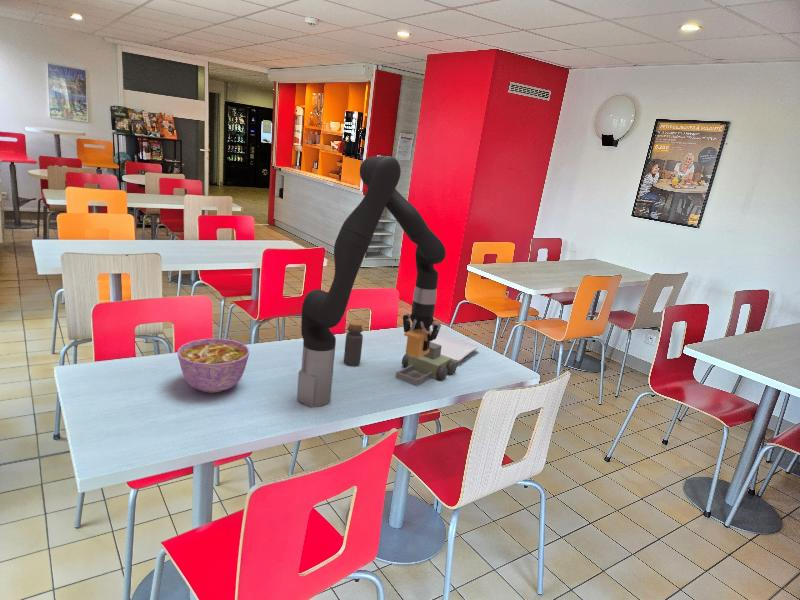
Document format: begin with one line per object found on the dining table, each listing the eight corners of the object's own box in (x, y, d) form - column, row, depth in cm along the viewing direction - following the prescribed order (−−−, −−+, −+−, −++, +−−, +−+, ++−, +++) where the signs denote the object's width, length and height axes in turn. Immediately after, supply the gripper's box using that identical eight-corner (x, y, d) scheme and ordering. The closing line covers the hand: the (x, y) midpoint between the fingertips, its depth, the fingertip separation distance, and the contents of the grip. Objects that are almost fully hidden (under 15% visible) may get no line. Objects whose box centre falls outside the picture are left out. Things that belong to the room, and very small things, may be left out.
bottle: (352, 367, 184) (356, 326, 180) (340, 362, 188) (343, 322, 183) (363, 363, 189) (367, 323, 185) (351, 358, 192) (355, 319, 188)
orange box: (414, 360, 174) (417, 337, 172) (401, 355, 177) (404, 333, 174) (428, 352, 182) (431, 330, 180) (416, 348, 184) (419, 326, 182)
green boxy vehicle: (426, 389, 174) (430, 364, 172) (386, 374, 182) (389, 349, 180) (455, 372, 191) (459, 349, 189) (417, 358, 199) (420, 336, 197)
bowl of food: (239, 369, 172) (240, 336, 169) (255, 397, 155) (257, 360, 152) (172, 376, 162) (172, 340, 159) (182, 406, 145) (182, 367, 142)
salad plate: (457, 368, 196) (459, 359, 195) (407, 352, 206) (408, 343, 205) (478, 353, 214) (480, 345, 213) (432, 338, 224) (433, 331, 223)
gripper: (400, 296, 176) (394, 344, 180) (437, 307, 168) (430, 357, 173) (412, 293, 182) (406, 339, 186) (448, 303, 174) (441, 351, 179)
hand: (418, 347), depth 180 cm, fingers closed on orange box, 5 cm apart
